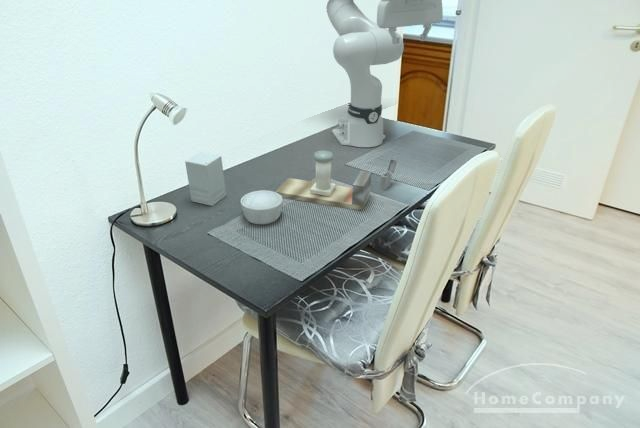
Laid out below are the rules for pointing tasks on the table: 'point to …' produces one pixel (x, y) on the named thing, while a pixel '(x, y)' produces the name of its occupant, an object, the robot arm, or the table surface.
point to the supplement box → (206, 178)
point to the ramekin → (262, 206)
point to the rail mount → (339, 196)
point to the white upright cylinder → (323, 174)
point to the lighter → (388, 175)
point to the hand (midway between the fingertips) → (409, 42)
